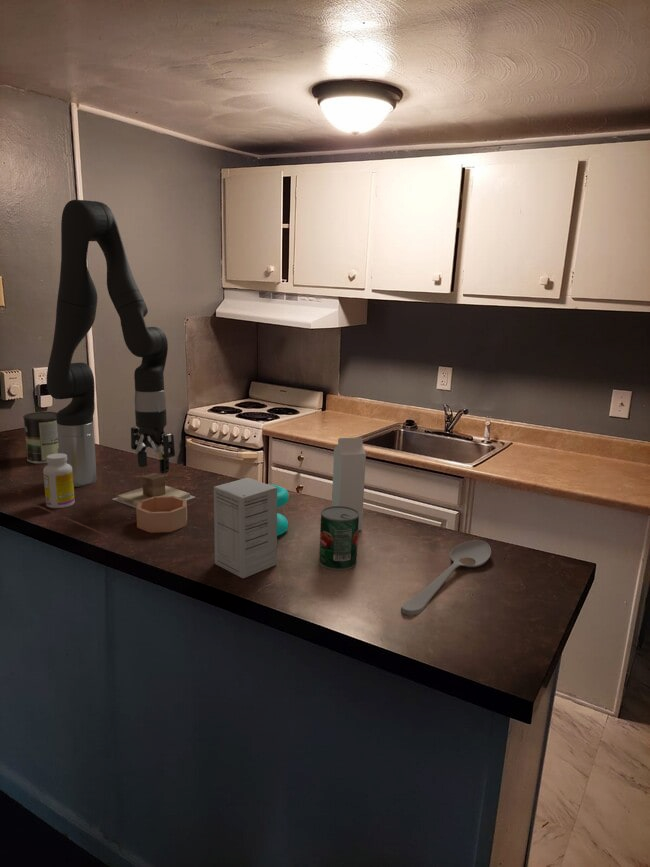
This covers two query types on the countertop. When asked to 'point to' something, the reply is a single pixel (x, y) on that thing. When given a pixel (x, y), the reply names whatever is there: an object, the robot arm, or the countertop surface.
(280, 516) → the donuts
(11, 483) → the countertop surface
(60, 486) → the supplement bottle
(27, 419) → the coffee can
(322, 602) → the countertop surface
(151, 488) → the lid
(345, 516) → the canned tomato
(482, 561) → the spoon
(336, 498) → the milk
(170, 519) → the bowl
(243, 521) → the supplement box
